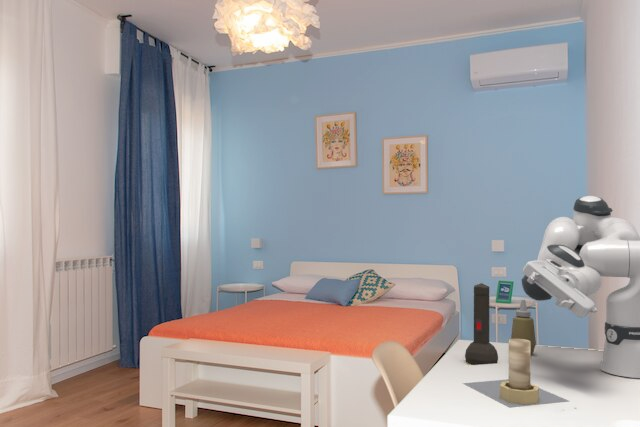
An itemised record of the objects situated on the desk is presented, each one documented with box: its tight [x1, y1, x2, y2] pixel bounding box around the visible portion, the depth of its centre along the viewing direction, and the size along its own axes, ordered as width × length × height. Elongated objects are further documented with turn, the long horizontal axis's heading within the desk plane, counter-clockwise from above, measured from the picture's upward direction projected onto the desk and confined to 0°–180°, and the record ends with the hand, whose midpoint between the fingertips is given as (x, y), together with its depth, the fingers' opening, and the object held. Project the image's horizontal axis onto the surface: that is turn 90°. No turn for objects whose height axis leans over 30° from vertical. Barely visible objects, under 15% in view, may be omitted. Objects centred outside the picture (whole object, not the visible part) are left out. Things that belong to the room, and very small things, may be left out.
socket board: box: [462, 378, 569, 408], centre depth 138 cm, size 17×20×4 cm
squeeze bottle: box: [510, 299, 537, 356], centre depth 184 cm, size 8×8×18 cm
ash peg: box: [508, 338, 531, 390], centre depth 133 cm, size 5×5×14 cm
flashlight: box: [464, 282, 499, 366], centre depth 172 cm, size 10×25×10 cm
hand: (544, 291), depth 145 cm, fingers open, 8 cm apart
